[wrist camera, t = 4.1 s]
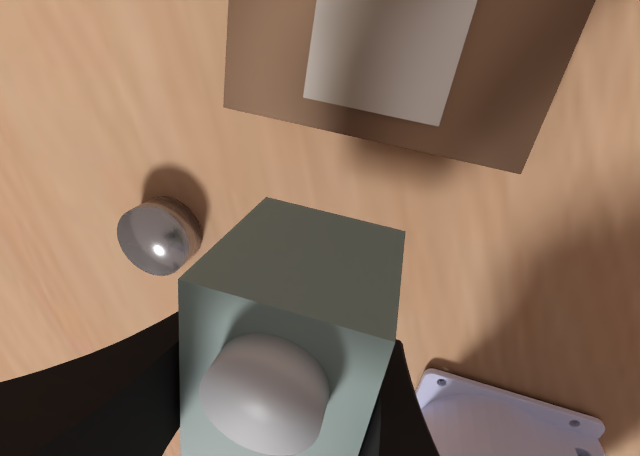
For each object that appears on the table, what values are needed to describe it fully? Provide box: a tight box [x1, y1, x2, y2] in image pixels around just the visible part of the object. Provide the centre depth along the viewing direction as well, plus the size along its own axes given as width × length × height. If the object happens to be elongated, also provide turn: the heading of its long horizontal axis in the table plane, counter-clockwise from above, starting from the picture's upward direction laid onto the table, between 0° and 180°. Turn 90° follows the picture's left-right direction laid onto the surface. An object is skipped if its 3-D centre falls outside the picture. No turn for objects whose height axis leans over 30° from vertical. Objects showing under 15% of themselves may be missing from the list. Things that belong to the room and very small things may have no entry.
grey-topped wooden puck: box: [117, 197, 202, 276], centre depth 21 cm, size 4×4×2 cm
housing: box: [178, 197, 405, 456], centre depth 11 cm, size 7×4×6 cm, turn 171°
